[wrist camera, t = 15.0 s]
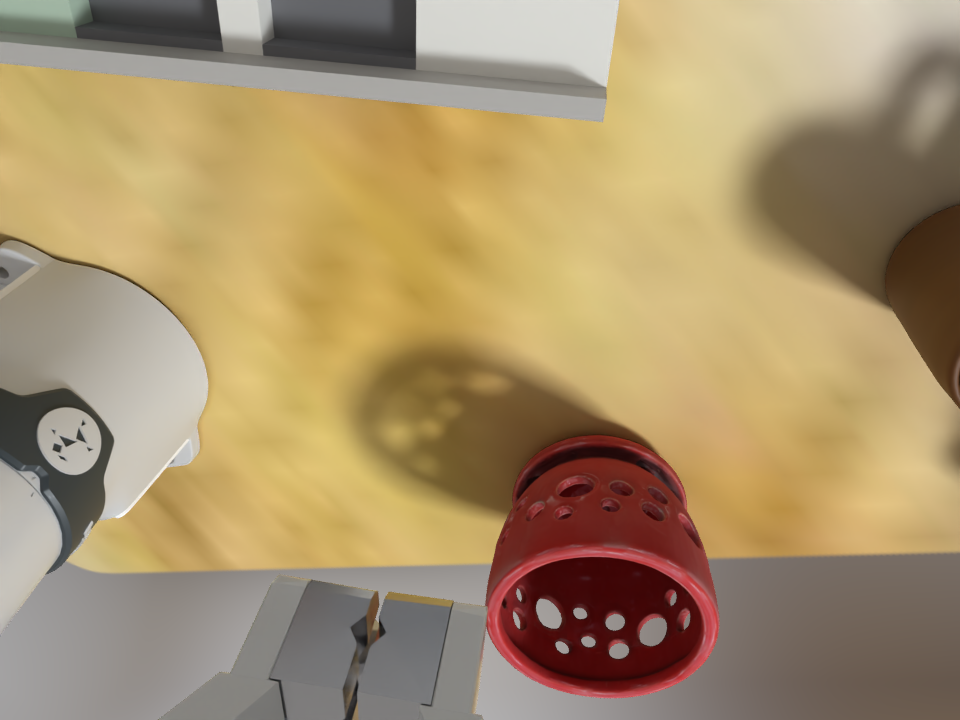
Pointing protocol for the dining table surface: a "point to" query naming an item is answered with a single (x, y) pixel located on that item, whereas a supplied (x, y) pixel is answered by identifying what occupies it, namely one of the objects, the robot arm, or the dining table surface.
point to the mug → (931, 294)
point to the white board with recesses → (354, 49)
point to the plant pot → (601, 570)
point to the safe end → (44, 16)
